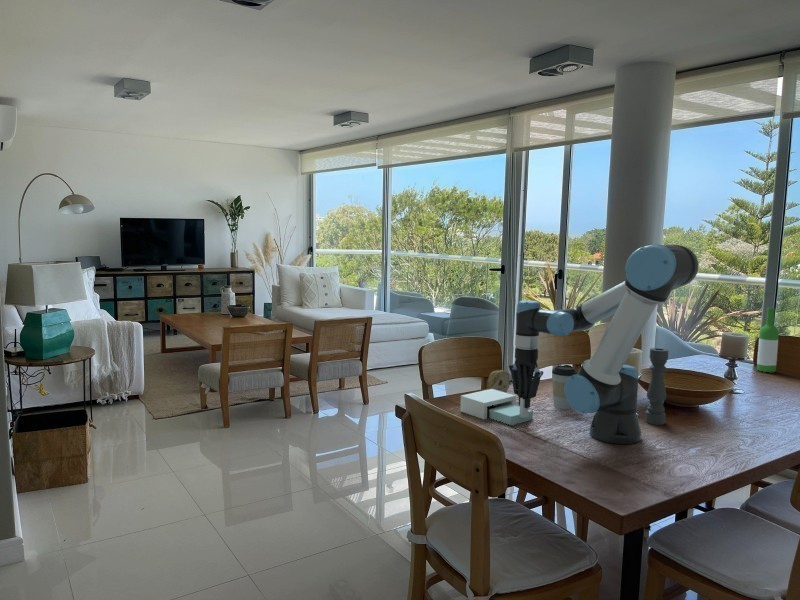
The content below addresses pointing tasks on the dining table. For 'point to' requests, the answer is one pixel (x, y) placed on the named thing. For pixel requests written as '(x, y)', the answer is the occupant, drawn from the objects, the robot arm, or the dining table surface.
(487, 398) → the low shelf
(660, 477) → the dining table surface
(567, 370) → the coffee cup
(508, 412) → the mint green flat box
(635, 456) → the dining table surface
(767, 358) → the wine bottle
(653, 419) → the candle holder
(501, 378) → the stone disc
